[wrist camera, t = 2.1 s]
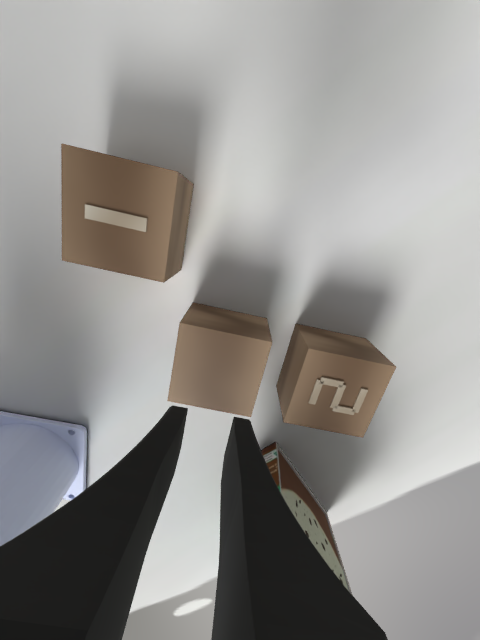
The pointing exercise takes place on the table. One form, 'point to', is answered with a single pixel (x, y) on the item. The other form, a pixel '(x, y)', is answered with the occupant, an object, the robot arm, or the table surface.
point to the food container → (305, 508)
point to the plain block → (219, 359)
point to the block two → (332, 381)
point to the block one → (123, 214)
